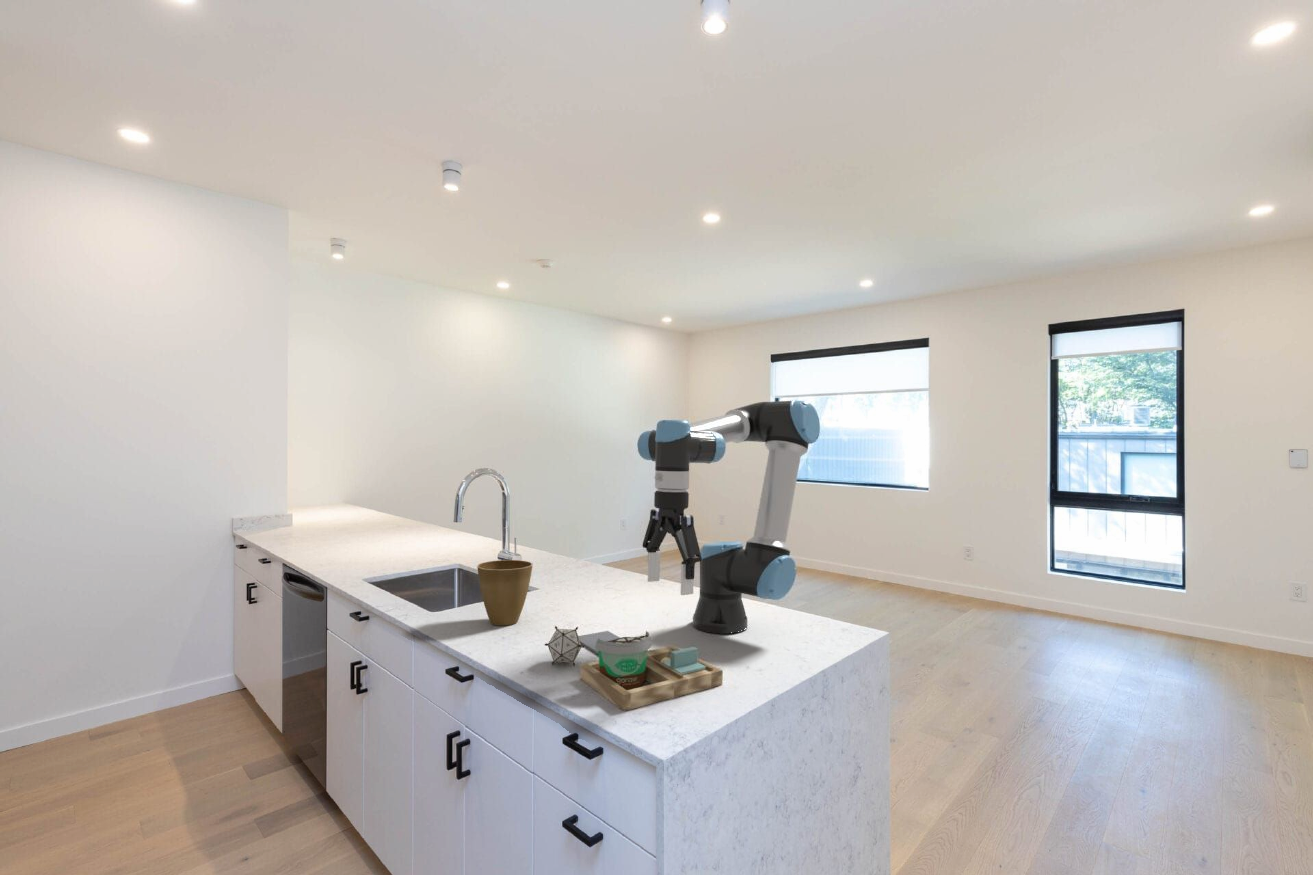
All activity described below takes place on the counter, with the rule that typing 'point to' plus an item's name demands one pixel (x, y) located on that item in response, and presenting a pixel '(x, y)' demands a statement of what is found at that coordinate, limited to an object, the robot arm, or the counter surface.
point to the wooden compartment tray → (652, 681)
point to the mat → (596, 639)
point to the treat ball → (665, 660)
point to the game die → (564, 645)
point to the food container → (624, 660)
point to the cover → (684, 661)
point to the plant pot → (504, 589)
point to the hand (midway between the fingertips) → (669, 587)
